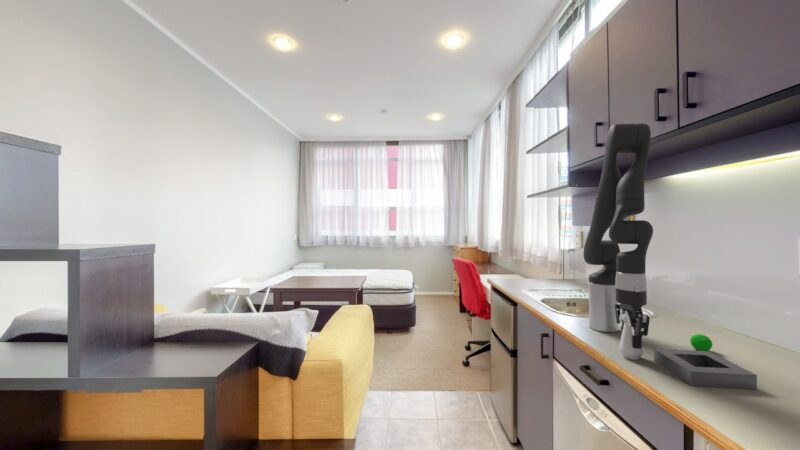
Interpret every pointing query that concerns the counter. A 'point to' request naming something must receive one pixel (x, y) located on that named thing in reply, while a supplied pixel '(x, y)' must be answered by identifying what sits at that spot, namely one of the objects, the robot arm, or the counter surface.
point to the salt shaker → (628, 342)
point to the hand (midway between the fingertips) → (631, 343)
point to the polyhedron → (701, 342)
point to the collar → (705, 369)
